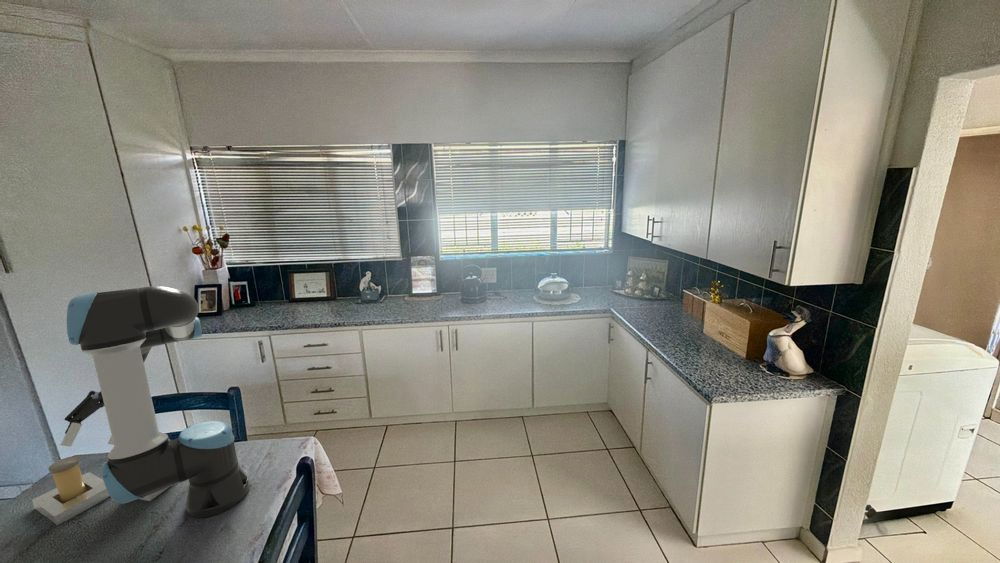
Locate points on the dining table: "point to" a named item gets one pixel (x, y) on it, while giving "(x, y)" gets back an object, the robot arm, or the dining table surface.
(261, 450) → the dining table surface
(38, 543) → the dining table surface
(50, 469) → the yellow and grey cylinder
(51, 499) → the housing
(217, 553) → the dining table surface
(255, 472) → the dining table surface
